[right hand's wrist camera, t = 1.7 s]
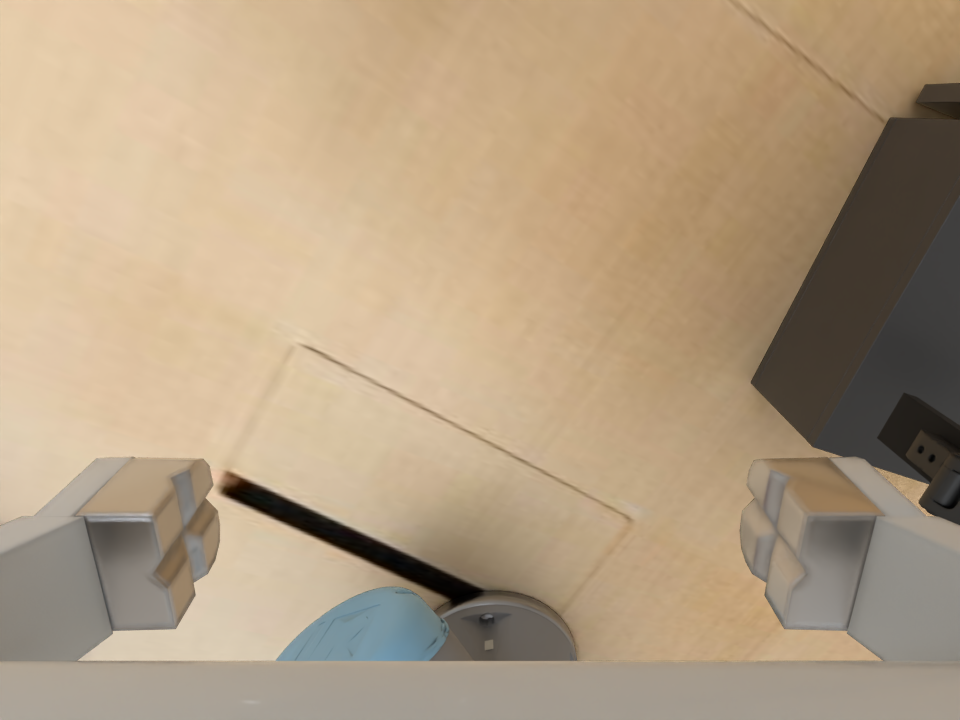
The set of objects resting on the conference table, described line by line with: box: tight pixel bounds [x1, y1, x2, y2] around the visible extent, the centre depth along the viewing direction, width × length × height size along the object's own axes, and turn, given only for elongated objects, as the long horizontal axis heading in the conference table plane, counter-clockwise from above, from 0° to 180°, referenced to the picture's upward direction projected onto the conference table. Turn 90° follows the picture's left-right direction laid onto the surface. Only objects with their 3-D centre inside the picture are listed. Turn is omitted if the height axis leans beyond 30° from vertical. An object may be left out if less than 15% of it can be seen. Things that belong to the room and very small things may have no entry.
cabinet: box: [751, 118, 960, 484], centre depth 45 cm, size 21×11×11 cm, turn 161°
